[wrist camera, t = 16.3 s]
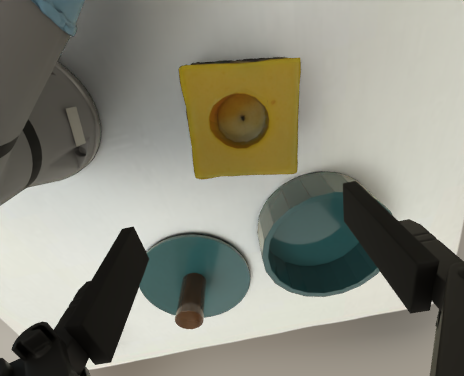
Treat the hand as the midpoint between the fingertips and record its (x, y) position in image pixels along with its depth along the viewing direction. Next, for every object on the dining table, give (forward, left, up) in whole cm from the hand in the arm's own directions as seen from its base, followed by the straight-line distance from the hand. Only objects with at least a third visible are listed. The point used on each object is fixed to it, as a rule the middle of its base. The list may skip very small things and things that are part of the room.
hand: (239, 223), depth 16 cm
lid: (-12, -22, -18) cm, 31 cm away
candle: (+2, +4, -19) cm, 19 cm away
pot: (+9, -16, -19) cm, 26 cm away
